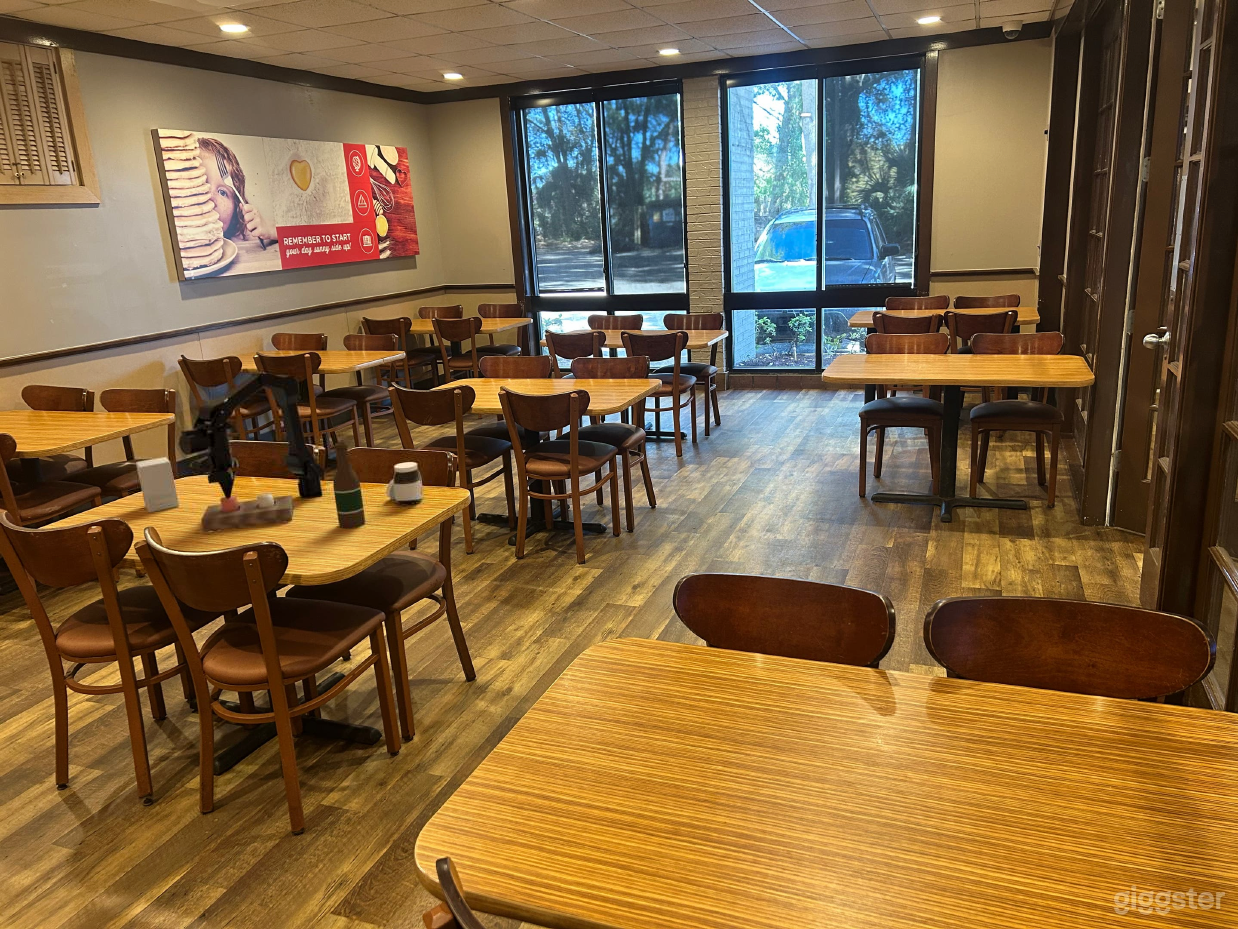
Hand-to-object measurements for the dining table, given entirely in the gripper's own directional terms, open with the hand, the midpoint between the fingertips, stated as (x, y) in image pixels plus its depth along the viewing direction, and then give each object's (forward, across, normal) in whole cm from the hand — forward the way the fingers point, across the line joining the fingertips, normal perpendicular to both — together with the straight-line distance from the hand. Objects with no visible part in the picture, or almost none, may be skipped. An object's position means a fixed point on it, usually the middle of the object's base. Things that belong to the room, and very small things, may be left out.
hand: (228, 498), depth 261 cm
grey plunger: (+7, 0, +10) cm, 12 cm away
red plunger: (+6, 0, 0) cm, 6 cm away
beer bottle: (+8, +19, +34) cm, 40 cm away
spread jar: (+8, +2, +50) cm, 51 cm away
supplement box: (+8, -29, -24) cm, 38 cm away
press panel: (+8, 0, +5) cm, 9 cm away
